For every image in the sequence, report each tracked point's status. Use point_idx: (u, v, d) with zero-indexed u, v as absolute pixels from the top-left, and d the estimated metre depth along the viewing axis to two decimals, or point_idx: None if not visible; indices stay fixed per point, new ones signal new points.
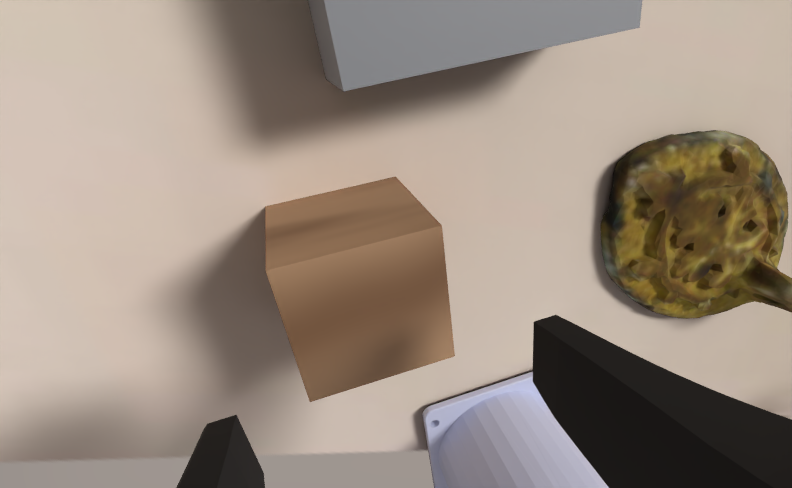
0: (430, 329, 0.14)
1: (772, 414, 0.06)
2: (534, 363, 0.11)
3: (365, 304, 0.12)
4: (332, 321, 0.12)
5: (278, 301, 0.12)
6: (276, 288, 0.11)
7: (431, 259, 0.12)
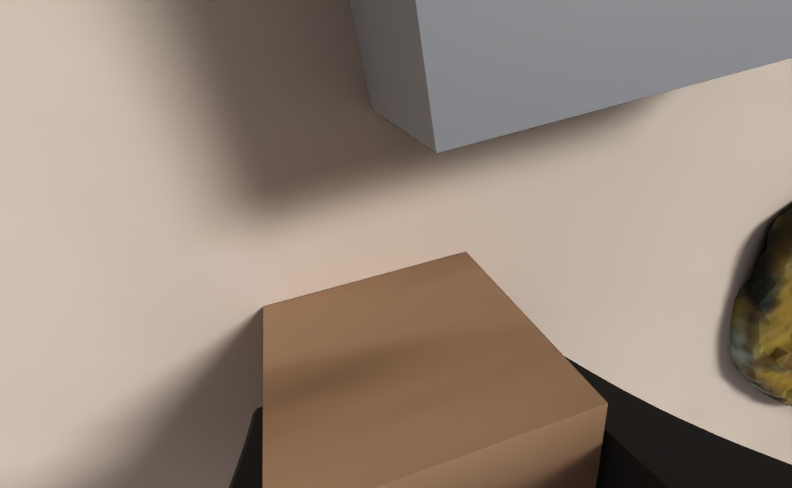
0: None
1: (716, 436, 0.06)
2: None
3: None
4: None
5: None
6: None
7: (578, 456, 0.07)
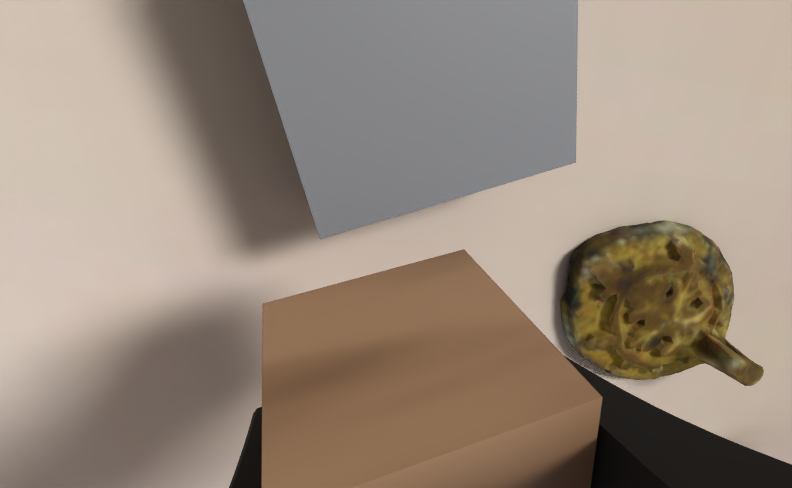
0: None
1: (717, 436, 0.06)
2: None
3: None
4: None
5: None
6: None
7: (573, 450, 0.07)
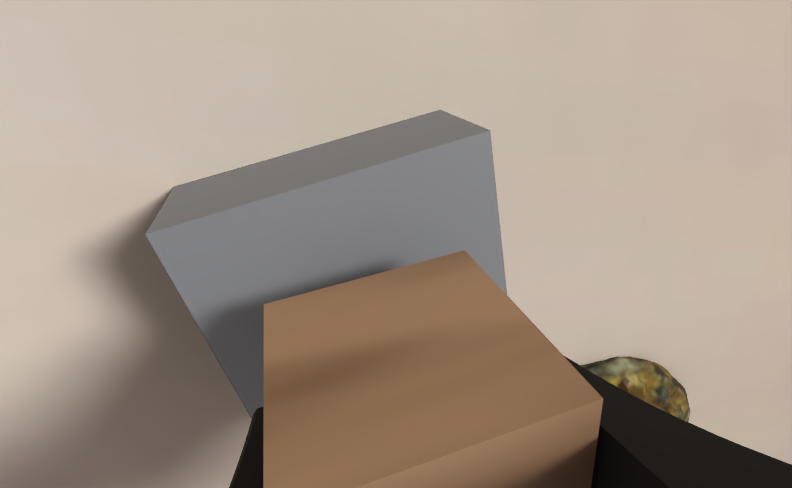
0: None
1: (717, 437, 0.06)
2: None
3: None
4: None
5: None
6: None
7: (574, 451, 0.07)
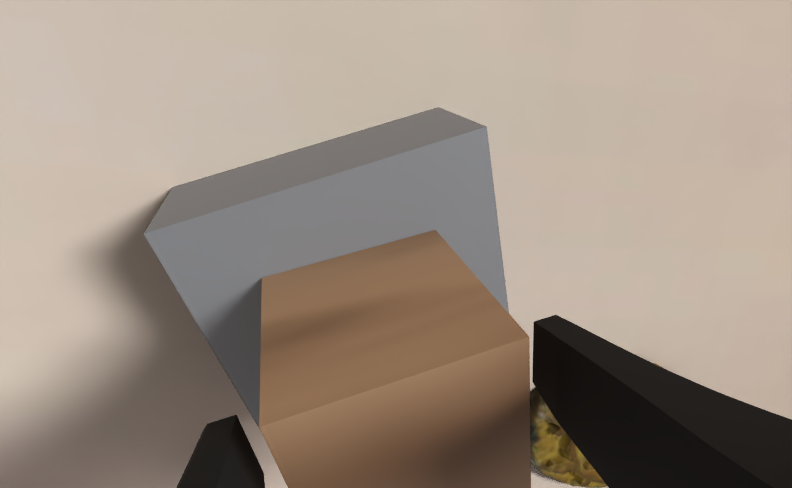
0: (501, 468, 0.09)
1: (772, 414, 0.06)
2: (534, 363, 0.11)
3: (411, 450, 0.08)
4: (362, 477, 0.08)
5: (280, 464, 0.07)
6: (277, 447, 0.07)
7: (510, 382, 0.08)
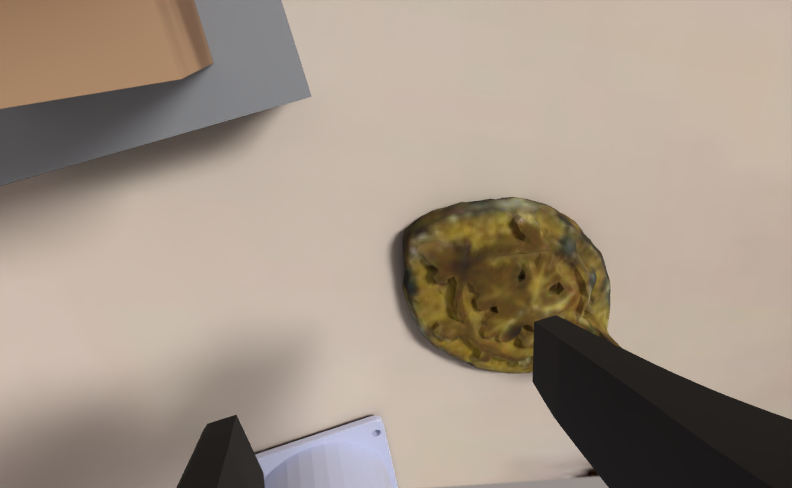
0: None
1: (772, 414, 0.06)
2: (534, 363, 0.11)
3: None
4: None
5: None
6: None
7: None
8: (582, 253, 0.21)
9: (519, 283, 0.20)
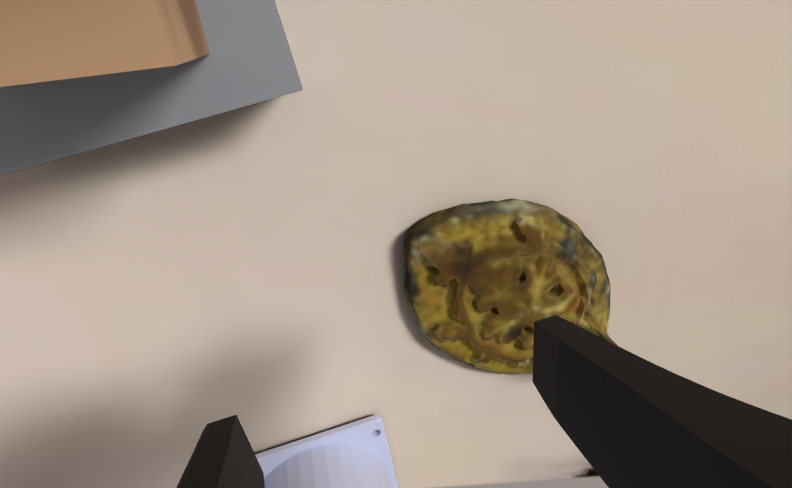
0: None
1: (772, 414, 0.06)
2: (534, 363, 0.11)
3: None
4: None
5: None
6: None
7: None
8: (583, 255, 0.21)
9: (520, 285, 0.20)
